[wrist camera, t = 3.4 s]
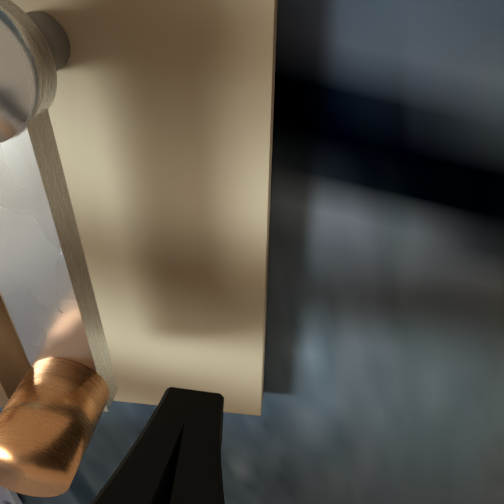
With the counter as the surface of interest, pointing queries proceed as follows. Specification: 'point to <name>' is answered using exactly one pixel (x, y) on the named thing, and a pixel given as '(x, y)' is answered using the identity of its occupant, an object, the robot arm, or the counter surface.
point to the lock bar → (43, 280)
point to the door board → (166, 187)
